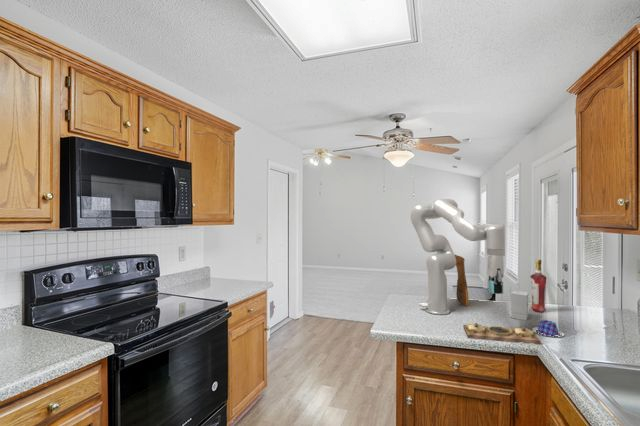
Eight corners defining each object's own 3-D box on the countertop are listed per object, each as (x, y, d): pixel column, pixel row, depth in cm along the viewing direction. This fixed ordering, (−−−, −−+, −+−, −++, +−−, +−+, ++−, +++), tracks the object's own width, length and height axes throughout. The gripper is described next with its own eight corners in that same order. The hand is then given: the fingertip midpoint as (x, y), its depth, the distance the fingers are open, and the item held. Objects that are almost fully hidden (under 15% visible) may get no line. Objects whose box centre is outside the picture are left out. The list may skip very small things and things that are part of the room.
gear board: (467, 338, 148) (467, 327, 148) (463, 327, 161) (463, 318, 161) (540, 344, 141) (540, 333, 141) (530, 333, 154) (530, 323, 154)
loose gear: (491, 293, 156) (491, 282, 156) (488, 290, 162) (488, 280, 162) (504, 294, 155) (504, 282, 155) (501, 291, 160) (501, 280, 160)
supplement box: (526, 320, 171) (527, 295, 170) (510, 317, 175) (510, 293, 175) (528, 316, 177) (528, 292, 176) (512, 314, 181) (512, 290, 181)
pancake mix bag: (458, 306, 195) (458, 257, 195) (452, 298, 214) (452, 253, 213) (470, 307, 194) (471, 258, 193) (464, 298, 212) (464, 253, 212)
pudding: (570, 335, 151) (570, 324, 151) (552, 340, 146) (552, 328, 146) (543, 327, 162) (543, 316, 162) (526, 330, 157) (526, 319, 157)
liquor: (527, 309, 190) (527, 258, 189) (541, 309, 189) (541, 258, 189) (535, 313, 182) (535, 260, 182) (549, 313, 182) (549, 260, 182)
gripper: (482, 250, 168) (483, 287, 168) (491, 254, 151) (492, 295, 151) (499, 250, 166) (499, 287, 166) (510, 254, 149) (510, 296, 149)
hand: (496, 291), depth 158 cm, fingers closed on loose gear, 5 cm apart
